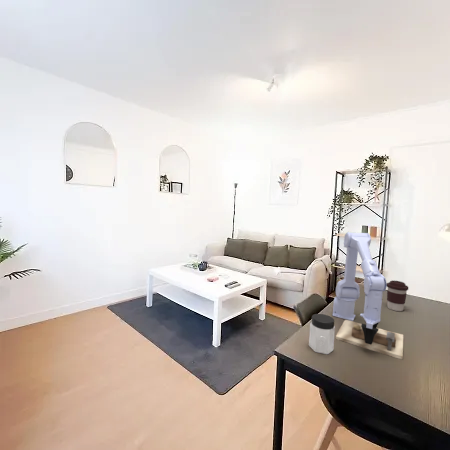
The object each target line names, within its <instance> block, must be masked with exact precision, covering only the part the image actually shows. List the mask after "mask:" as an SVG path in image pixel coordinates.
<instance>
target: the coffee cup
mask: <svg viewBox="0 0 450 450" xmlns="http://www.w3.org/2000/svg"><path fill="white" fill-rule="evenodd" d="M386 283H387V287H386V289H387V290H386V299H387V308H388V309H389V310H391V311H395V312H403V311H404V307H405V303H406V298H407V295H408V294H407V291H409V286H408V285H406V283H405V282H403V281H400V280H390V281H389V282H386Z"/></svg>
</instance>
